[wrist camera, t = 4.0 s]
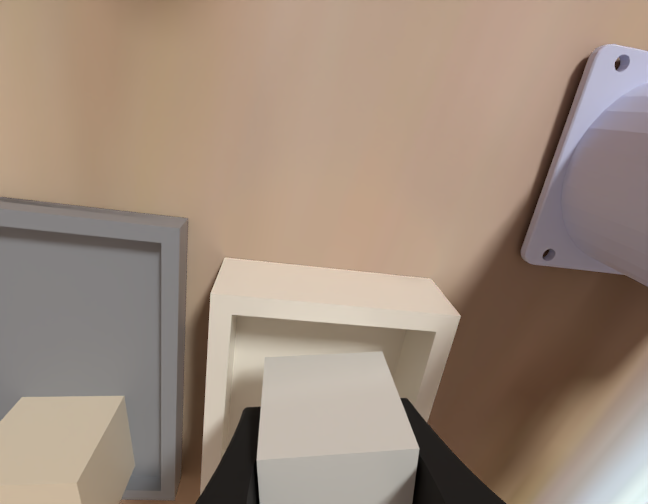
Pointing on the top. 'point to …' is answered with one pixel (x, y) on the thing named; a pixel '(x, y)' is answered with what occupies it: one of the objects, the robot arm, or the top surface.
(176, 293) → the slate tray
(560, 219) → the robot arm
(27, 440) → the beige cube
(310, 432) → the light gray cube
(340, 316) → the cream dish
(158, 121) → the top surface
